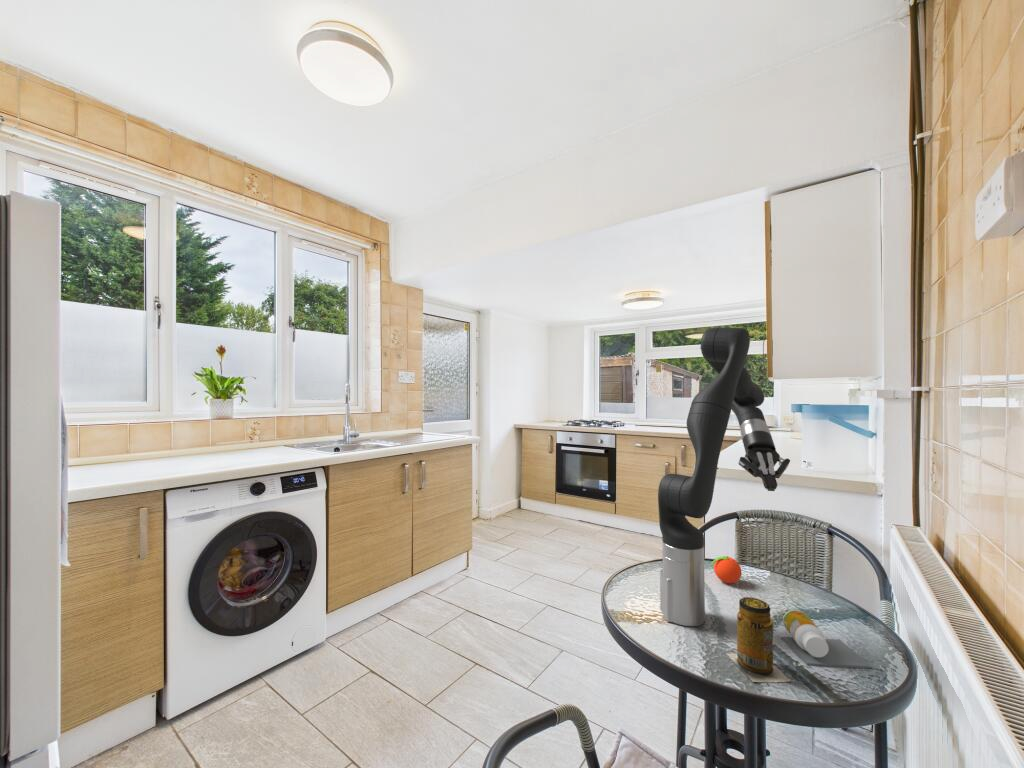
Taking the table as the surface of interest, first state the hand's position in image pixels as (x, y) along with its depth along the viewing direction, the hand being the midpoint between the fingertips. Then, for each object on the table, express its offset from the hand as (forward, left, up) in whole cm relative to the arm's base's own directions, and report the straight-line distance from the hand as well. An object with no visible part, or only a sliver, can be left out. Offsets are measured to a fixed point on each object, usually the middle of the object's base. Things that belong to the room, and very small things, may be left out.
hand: (772, 489), depth 110 cm
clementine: (-9, +8, -28) cm, 31 cm away
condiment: (-19, -30, -28) cm, 45 cm away
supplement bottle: (-5, -18, -25) cm, 31 cm away
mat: (-3, -24, -28) cm, 37 cm away
